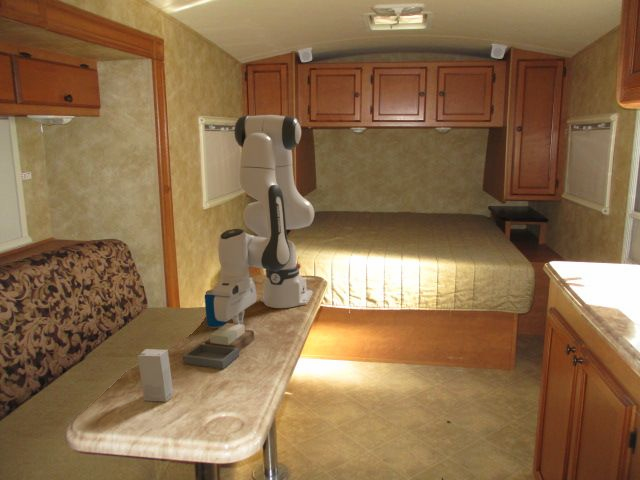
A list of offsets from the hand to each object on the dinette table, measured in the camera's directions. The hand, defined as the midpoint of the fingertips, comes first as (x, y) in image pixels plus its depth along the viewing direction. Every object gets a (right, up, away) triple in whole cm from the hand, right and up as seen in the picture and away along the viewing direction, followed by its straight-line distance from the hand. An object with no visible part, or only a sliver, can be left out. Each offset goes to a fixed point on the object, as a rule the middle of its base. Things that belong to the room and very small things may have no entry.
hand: (238, 325), depth 162 cm
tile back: (-1, -2, -3) cm, 4 cm away
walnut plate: (-2, -6, -4) cm, 7 cm away
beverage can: (-9, -3, +13) cm, 16 cm away
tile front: (-3, -3, -8) cm, 9 cm away
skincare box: (-14, -13, -34) cm, 39 cm away
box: (-6, -8, -14) cm, 17 cm away
